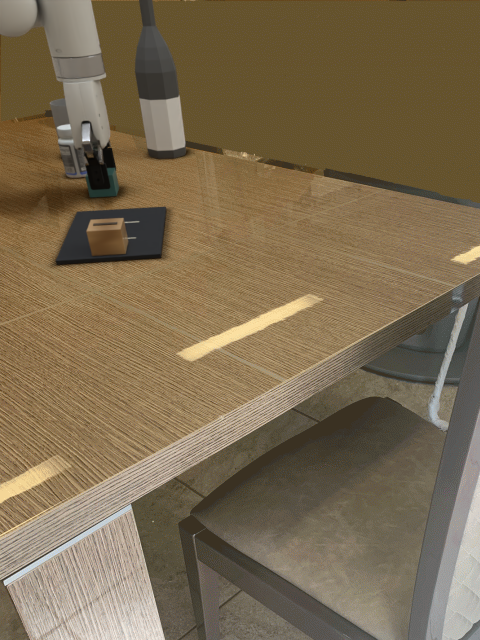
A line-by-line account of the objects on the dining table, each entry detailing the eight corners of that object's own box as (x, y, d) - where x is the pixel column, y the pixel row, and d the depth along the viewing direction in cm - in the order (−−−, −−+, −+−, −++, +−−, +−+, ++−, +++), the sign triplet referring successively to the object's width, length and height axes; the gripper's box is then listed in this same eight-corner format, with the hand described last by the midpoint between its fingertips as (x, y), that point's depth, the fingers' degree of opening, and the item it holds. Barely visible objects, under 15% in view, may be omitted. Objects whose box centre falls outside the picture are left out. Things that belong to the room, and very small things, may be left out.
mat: (56, 264, 87) (55, 260, 87) (77, 215, 103) (76, 211, 102) (161, 258, 89) (160, 253, 88) (166, 210, 104) (165, 206, 104)
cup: (95, 147, 136) (84, 95, 130) (112, 155, 131) (101, 101, 125) (56, 154, 132) (43, 101, 126) (72, 163, 127) (59, 107, 121)
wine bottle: (177, 160, 128) (151, -24, 110) (140, 157, 130) (109, -24, 111) (194, 150, 134) (173, -26, 116) (159, 147, 136) (132, -26, 118)
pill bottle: (91, 170, 123) (80, 122, 118) (93, 176, 119) (83, 128, 114) (65, 172, 121) (53, 124, 116) (66, 179, 118) (55, 130, 113)
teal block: (89, 197, 110) (85, 175, 107) (93, 189, 113) (88, 168, 111) (116, 196, 110) (112, 174, 108) (119, 188, 114) (115, 167, 112)
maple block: (92, 256, 88) (86, 230, 86) (96, 243, 91) (90, 218, 89) (125, 254, 88) (120, 228, 86) (128, 241, 92) (123, 216, 90)
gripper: (63, 60, 106) (88, 167, 117) (44, 78, 93) (74, 197, 103) (109, 58, 107) (130, 164, 118) (97, 76, 94) (122, 194, 104)
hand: (104, 180), depth 110 cm, fingers open, 9 cm apart
